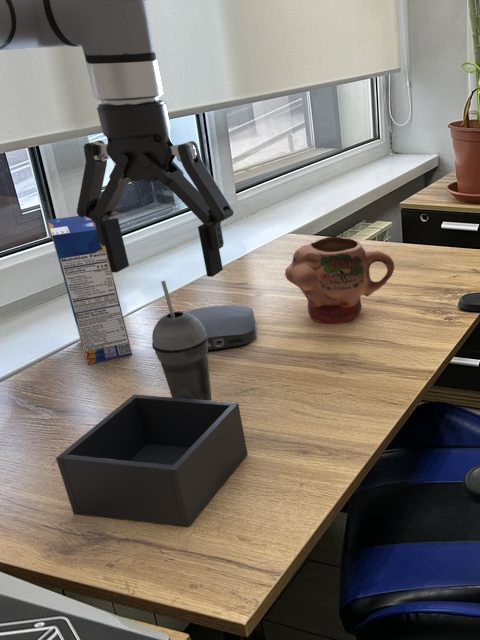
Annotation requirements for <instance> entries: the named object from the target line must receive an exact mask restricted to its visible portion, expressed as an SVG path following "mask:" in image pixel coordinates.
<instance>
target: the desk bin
mask: <svg viewBox="0 0 480 640" xmlns="http://www.w3.org/2000/svg"><path fill="white" fill-rule="evenodd" d="M240 409H241V408H240V404H239V402H231V401H218V400H212V401H208V400H196V399H184V398H172V396H171V397H170V396H160V395H159V396H158V395H146V394H132V395H131V396H130V397H128V398H127V399H126V400H125V401H124V402H122V403H121V404H120V405H119V406H117V408H115V409H114V410H113V411H111V412H110V413H109V414H108V415H107V416H105V417H103V419H101V420H100V421H99V422H98V423H97V424H95V425H94V426H93V427H92V428H90V430H88V431H87V432H86V433H84V434H83V435H82V436H81V437H79V438H78V439H77V440H76V441H75V442H73V443H72V444H71V445H70V446H69V447H67V448H66V449H65V450H63V451H62V452H61V453H60V454H59V455H57V456H56V457H55V460H56V463H57V466H58V469H59V473H60V475H61V480H62V482H63V485H64V488H65V492H66V494H67V497H68V501H69V504H70V508H71V510H72V513H73V514H74V515H81V516H90V517H99V518H107V519H115V520H125V521H133V522H141V523H149V524H150V523H151V524H159V525H168V526H176V527H183V528H190V527H191V526H192V524H193V523H194V522H195V521H196V519H197V518H198V517H199V515H201V513H202V512H203V511H204V509H206V507H207V505H209V503H210V502H211V501H212V500H213V498H214V497H215V496H216V494H217V493H218V492H219V491H220V490H221V488H222V487H223V486H224V485H225V483H226V482H227V481H228V480H229V478H230V477H231V476H232V475H233V474H234V472H235V471H236V470H237V469H238V467H239V466H240V465H241V463H243V462H244V460H245V458H247V456H248V449H247V443H246V437H245V432H244V427H243V421H242V416H241V410H240Z"/></svg>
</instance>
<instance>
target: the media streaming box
mask: <svg viewBox="0 0 480 640" xmlns="http://www.w3.org/2000/svg"><path fill="white" fill-rule="evenodd" d="M184 312H185V313H189V314H191V315H193V316H194V317H196V318H197V319H198V320H199V321H200V322H201V323H202V325H203V327H204V329H205V332H206V333H207V336H208V340H207V341H208V351H212V350H218V349H219V350H220V349H225V348H226V349H227V348H231V347H232V348H233V347H239V346H243V345H246V344H248V343H251V342H252V341H254V340H255V339H256V338H257V325H256V320H255V314H254V310H253V308H252V307H249V306H245V305H238V304H237V305H235V304H229V305H228V304H225V305H211V306H205V307H200V308H196V309H191V310H187V311H184Z"/></svg>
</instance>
